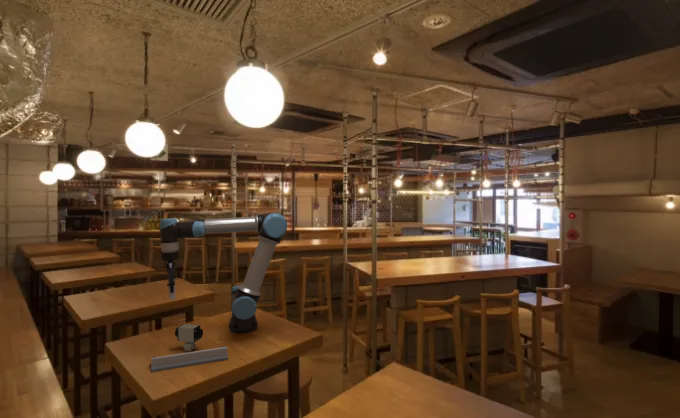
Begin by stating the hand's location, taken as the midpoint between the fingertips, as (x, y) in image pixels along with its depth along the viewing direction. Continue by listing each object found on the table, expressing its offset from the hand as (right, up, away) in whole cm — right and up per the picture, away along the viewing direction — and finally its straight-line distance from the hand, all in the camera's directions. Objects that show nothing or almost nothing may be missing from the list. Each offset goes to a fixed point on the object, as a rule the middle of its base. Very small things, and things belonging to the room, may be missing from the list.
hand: (172, 295), depth 181 cm
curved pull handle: (+15, -24, -18) cm, 34 cm away
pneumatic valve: (+10, -24, -4) cm, 26 cm away
